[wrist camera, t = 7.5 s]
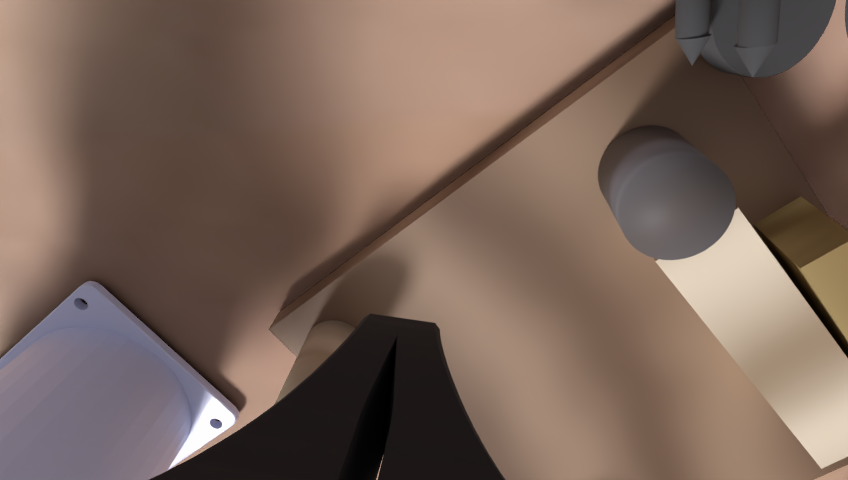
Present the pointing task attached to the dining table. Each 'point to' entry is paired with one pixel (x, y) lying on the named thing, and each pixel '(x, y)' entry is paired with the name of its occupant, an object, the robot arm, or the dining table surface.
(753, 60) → the character figurine
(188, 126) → the dining table surface
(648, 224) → the leg bar
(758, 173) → the stool seat
